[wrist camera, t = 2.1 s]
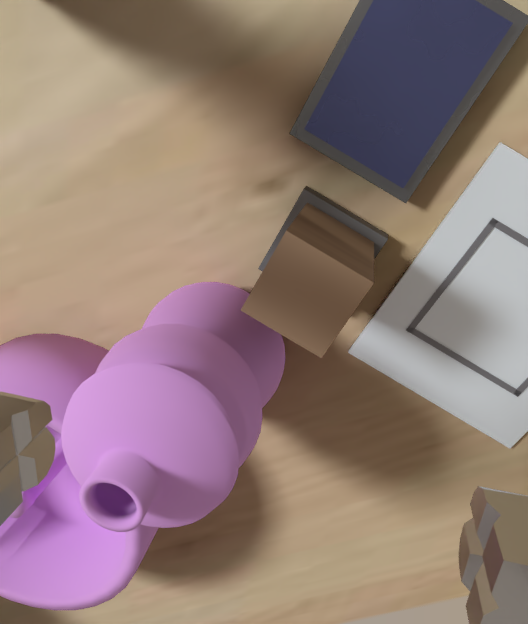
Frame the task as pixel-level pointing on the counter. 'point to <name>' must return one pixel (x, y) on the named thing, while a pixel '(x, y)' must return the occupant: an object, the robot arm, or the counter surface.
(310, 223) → the stamp
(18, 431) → the robot arm
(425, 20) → the ink tin
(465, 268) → the card
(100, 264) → the counter surface
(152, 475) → the container set
